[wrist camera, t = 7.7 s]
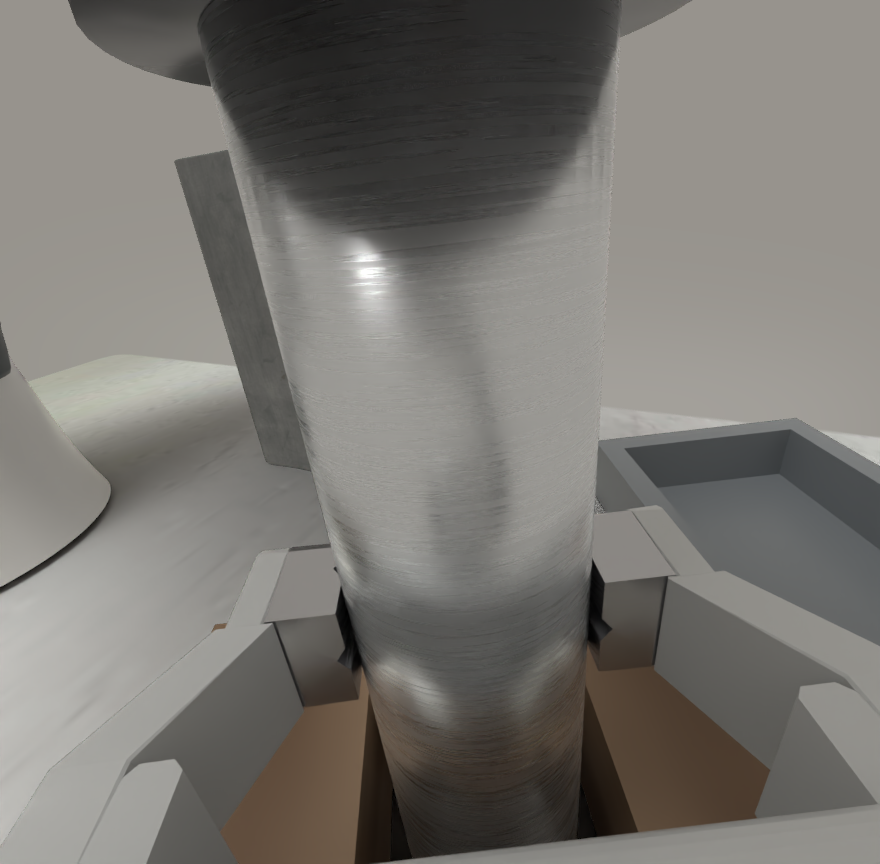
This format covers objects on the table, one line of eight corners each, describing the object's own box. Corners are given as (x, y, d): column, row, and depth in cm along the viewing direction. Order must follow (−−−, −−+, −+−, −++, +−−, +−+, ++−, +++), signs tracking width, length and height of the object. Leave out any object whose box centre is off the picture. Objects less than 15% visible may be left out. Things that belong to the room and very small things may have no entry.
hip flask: (255, 459, 32) (143, 104, 23) (301, 433, 35) (217, 109, 26) (456, 524, 24) (400, 5, 15) (494, 483, 27) (467, 29, 18)
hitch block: (-114, 1895, 5) (-505, 2200, 3) (270, 648, 18) (240, 567, 16) (1333, 1712, 5) (1790, 1906, 3) (658, 603, 18) (671, 517, 16)
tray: (839, 891, 11) (881, 820, 9) (593, 491, 25) (595, 441, 24) (1282, 839, 11) (1389, 761, 9) (783, 469, 25) (796, 418, 24)
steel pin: (382, 1061, 9) (-602, -847, 1) (392, 768, 14) (188, -35, 6) (652, 1029, 9) (1264, -1046, 1) (571, 748, 14) (601, -81, 6)
